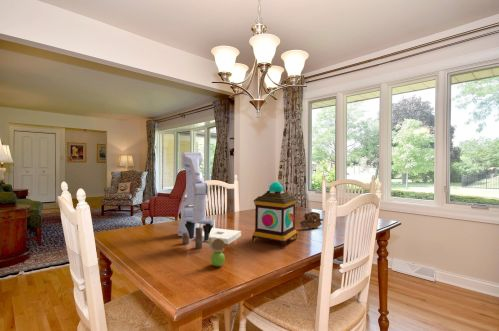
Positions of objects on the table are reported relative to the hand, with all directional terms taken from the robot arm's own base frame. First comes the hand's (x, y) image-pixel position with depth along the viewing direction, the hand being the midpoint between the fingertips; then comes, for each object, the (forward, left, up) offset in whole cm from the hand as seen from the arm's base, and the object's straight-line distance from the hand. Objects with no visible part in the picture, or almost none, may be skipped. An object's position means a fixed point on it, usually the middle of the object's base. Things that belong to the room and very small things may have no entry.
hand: (198, 239), depth 119 cm
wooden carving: (+43, +58, -4) cm, 72 cm away
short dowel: (-9, +3, -4) cm, 10 cm away
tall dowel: (0, 0, -4) cm, 4 cm away
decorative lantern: (+29, +25, -4) cm, 39 cm away
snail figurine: (+17, -15, -4) cm, 23 cm away
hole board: (+1, +18, -4) cm, 19 cm away
